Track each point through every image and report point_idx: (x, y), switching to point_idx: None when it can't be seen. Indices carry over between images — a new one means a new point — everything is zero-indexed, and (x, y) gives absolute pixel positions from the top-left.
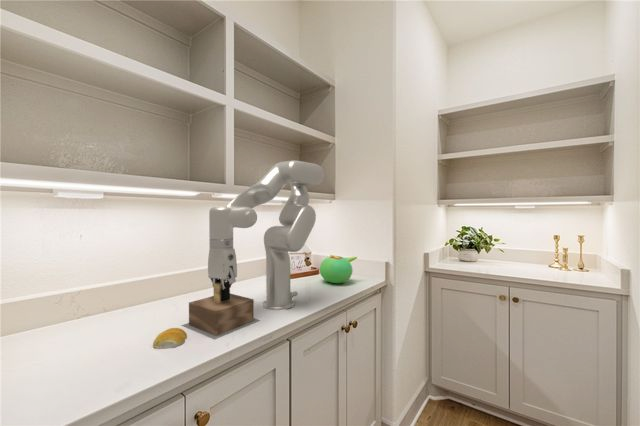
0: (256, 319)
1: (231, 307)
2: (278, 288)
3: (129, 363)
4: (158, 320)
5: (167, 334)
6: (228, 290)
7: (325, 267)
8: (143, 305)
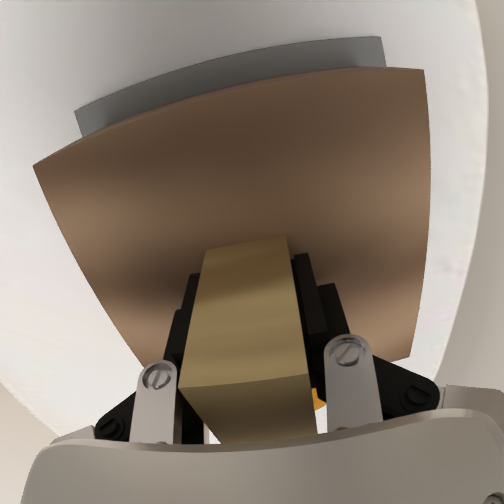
0: (350, 41)
1: (420, 278)
2: None
3: (325, 418)
4: (75, 346)
5: (317, 408)
6: (348, 332)
7: None
8: None
